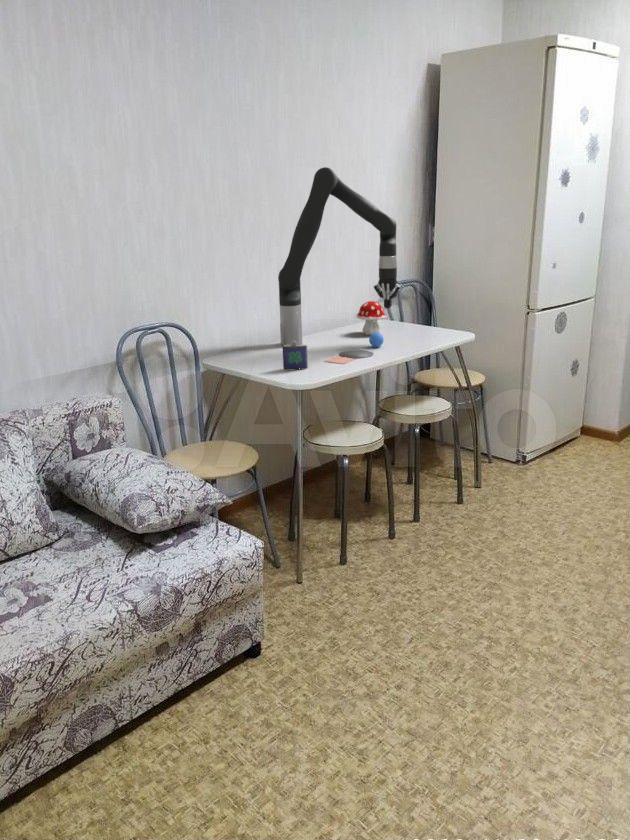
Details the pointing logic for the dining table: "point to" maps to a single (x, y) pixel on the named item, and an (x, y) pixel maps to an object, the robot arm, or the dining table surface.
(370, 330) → the decorative mushroom
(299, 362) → the flask
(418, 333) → the dining table surface
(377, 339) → the ball
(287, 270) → the robot arm
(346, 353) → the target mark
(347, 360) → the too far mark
